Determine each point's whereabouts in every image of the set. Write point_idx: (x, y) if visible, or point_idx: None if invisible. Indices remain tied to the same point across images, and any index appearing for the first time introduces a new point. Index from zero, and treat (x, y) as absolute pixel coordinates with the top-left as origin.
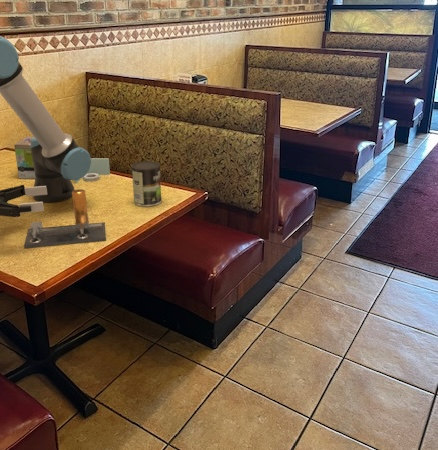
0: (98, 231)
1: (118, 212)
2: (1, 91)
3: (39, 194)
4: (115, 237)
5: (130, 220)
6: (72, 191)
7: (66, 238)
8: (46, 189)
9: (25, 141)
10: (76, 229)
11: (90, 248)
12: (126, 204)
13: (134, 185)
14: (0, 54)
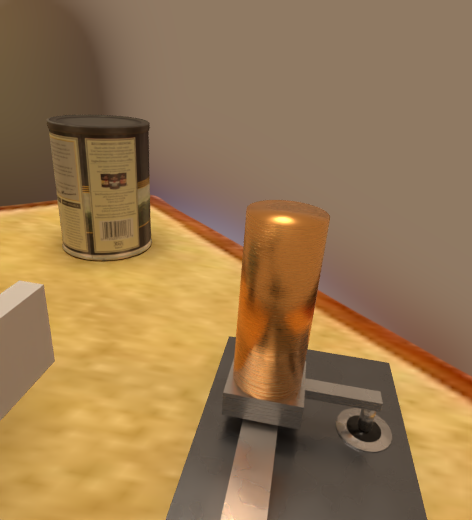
0: (318, 369)
1: (133, 298)
2: None
3: (2, 411)
4: (358, 347)
5: (225, 292)
6: (275, 223)
7: (382, 507)
8: (44, 314)
9: None
10: (277, 434)
11: (468, 435)
12: (82, 272)
13: (100, 194)
14: None
